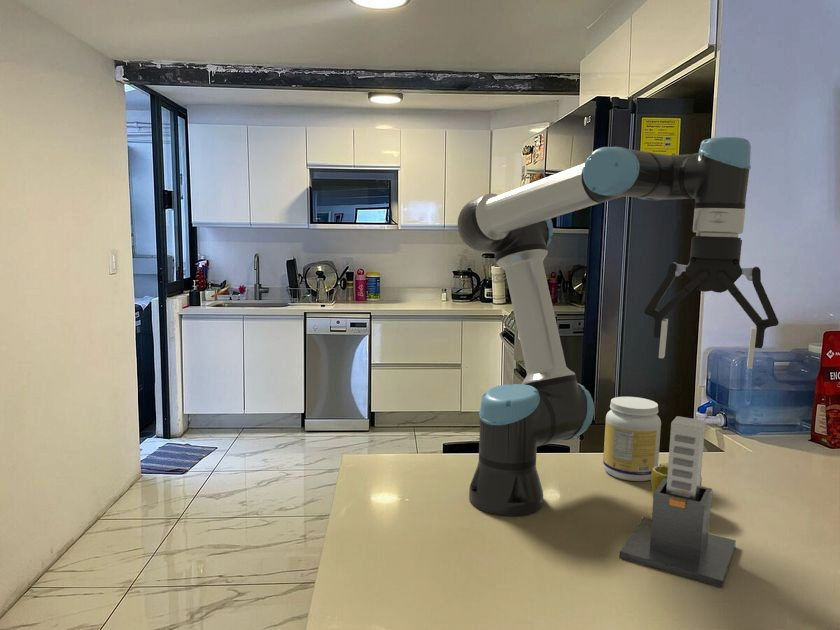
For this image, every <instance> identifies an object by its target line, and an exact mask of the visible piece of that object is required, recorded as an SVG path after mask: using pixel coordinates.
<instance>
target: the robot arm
mask: <svg viewBox="0 0 840 630" xmlns="http://www.w3.org/2000/svg"><path fill="white" fill-rule="evenodd" d="M751 149H752V146H751V142H750V141H749V140H748V139H746V138H743V137H739V136H738V137H737V136H736V137H735V136H718V137H711V138H706V139H704V140H702V141H701V142H700V147H699V150H698V152H696V153H687V154H662V153H655V152H650V151H649V152H648V151H642V150H636V149H631V148H630V149H629V148H625V147H623V146H603V147H599V148H597V149H595V150H594V151H592V152H591V154H590V155H589V156H588V157H587V158H586V160H585V161H584V162H582V163H580V164H578V165H575V166H571V167H569V168H567V169H566V168H565V169H564V170H561V171H559V172H556V173H553V174H551V175H548V176H546V177H543V178H540V179H537V180H535V181H531V182H529V183H528V184H527V183H526V184H524V185H521V186H518V187H515V188H514V189H511V190H509V191H507V192H503V193H500V194H496V193H493V192H492V193H490V192H489V193H486V194H484V195H481V196H478V197H475V198H474V199H471V200H470V201H469V202H467V203H466V204H465V205H464V206H463V207H462V208H461V210H460V212H459V214H458V217H457V231H458V234H459V237H460V238H461V240H462V242H463V243H465V244H466V246H468V247H469V248H470V249H473V250H474V251H477V252H483V253H493V254H494V258H495V263H496V266H498V267H500V268H501V269H503V270H504V273H505V276H506V282H507V286H508V290H509V295H510V301H511V306H512V310H513V315H514V318H515V324H516V327H517V328H516V330H517V333H518V337H519V338H518V339H519V343H520V347H521V353H522V357H523V362H524V367H525V370H526V376H525V377H524V379H523V380H522V382H521V383H512V384H509V383H508V384H507V383H506V384H500V385H497V386H494V387H491V388H489V389H488V390H485V392H484V394H483V395H482V397H481V399H480V408H479V413H478V414H479V439H478V440H479V443H478V463H477V466H476V468H475V471H474V474H473V477H472V479H471V482H470V484H469V489H468V500H469V502H470V503H471V504H472V505H473V506H474V507H475V508H477V509H479V510H481V511H482V512H486V513H489V514H493V515H496V516H497V515H499V516H506V517H507V516H508V517H519V516H526V515H527V516H528V515H530V514H533V513H536V512H538V511H539V510H541V508H542V507H543V505H544V491H543V487H542V483H541V480H540V476H539V473H538V470H537V448H538V447H540V446H545V445H549V444H553V443H557V442H561V441H568V440H572V439H573V438H575V437H579V436H580V435H582V434H583V433H585V432H586V431H587V430H588V429H589V427H590V425H591V424H592V421H593V420H594V419H593V418H594V413H595V406H594V405H595V404H594V401H593V400H594V399H593V397H592V395H591V393H590V391H589V390H588V389H586V387H585V386H584V385H582V384H580V383H578V380H577V377H576V373H575V372H574V371H572V370H571V369H569V368H568V367H567V364H566V359H565V355H564V349H563V347H562V342H561V336H560V333H559V328H558V323H557V319H556V315H555V311H554V306H553V302H552V297H551V294H550V293H551V292H550V290H549V289H550V288H549V284H548V280H547V275H546V270H545V266H544V260H545V259H546V257H547V255H548V254H549V253H548V252H549V251H548V247H549V245H550V244H551V242H552V237H553V234H554V233H553V232H554V226H553V225H554V224H553V221H552V219H554V218H556V217H559V216H562V215H566V214H569V213H573V212H575V211H579V210H582V209H586V208H588V207H591V206H595V205H599V204H602V203H605V202H609V201H612V200H615V199H619V198H623V197H627V198H629V197H631V198H638V199H640V200H647V201H654V202H655V201H662V200H684V199H685V200H695V202H694V211H693V223H692V232H693V233H696V234H695V235H694V236H693V237H692V238H691V243H690V244H691V245H690V254H689V261H688V263H687V265H686V264H679V263H677V262H675V261H674V262H671V263H670V264H669V265H668V269H667V273H666V274H667V275H666V276H665V277H664V279H663V281H662V283H661V284H660V286H659V287H658V289H657V290H656V291H655V293H654V295H653V296H652V298H651V300H650V301H649V303H648V304H647V306H646V308H645V309H644V314H645V315H647V316H650V317H652V318H653V319H654V329H653V336H654V338H655V339H659V349H658V359H664V358H665V356H666V345H667V338H668V337H667V334H668V324H669V319H668V318H664V317H666V316H667V315H668V314H669V313H670V312H671V311H672V310H673V309H674V308H675V307H676V306H677V305H679V303H680V302H682V301H683V300H684V299H685V298H686V297H687V296H688V295H689V294H690V293H692V291H694V290H695V289H696V290H698V291H700V292H705V293H706V292H712V293H720V294H721V293H724V292H726V291H727V292H729V294H730V295H731V296H732V297H733V298H734V300H735V301H736V302H737V303H738V305H739V306H740V307H741V308H742V310H743V311H744V313H745V314H746V315H747V316H748V317H749V319H751V321H752V322H753V323H754V325H755V326H751V327H750V334H749V336H750V337H749V345H748V354H747V362H746V363H747V364H746V368H747V369H750V370H753V366H754V359H755V357H754V356H755V349H763V346H764V339H765V331H766V329H768V328H771V327H777V326H778V325H779V323H780V322H779V318H777V314H776V313H775V311H774V307H773V306H772V304H771V301H770V299H769V297H768V294H767V292H766V290H765V288H764V286H763V283H762V280H761V279H762V278H761V267H759V266H753V267H743V268H742V266H741V254H742V244H743V239H741V237H739V235H741V234H743V233H744V227H745V226H744V224H745V215H746V201H747V192H748V184H749V176H750V175H749V174H750V170H751V168H752V166H751V151H752V150H751ZM683 272H685V273H686V275H687V277H688V278H689V280H690V281H689V282H688V284H686V285H685V287H683V288H682V290H680V291H679V292H678V293H677V294H676V295H675V296H674V297H672V298H671V299H670V300H669V301H668V302H667V303H666V304H665V305H664V306H663V307H662V308H661V309H660V310H659V309H656V308H657V307H658V305H659V303H660V302H661V300H662V298H664V296H665V294H666V292H668V289H669V288H670V286H671V284H672V283H673V282H674V280H675V278H676V277H679V276H681V275H682V273H683ZM741 276H744V277H745V278H746V279H747V281H749V282H752V285H753V288H754V290H755V292H756V294H757V297H758V299H759V301H760V304H761V306H762V309H763V311H764V313H765V315H766V318H764V319H763V318H762V317H761V316H760V314H759V312H757V311H756V309H755V308H754V307H753V306H752V304H751V303H750V302H749V301H748V299H747V298H746V297H745V296H744V294H743V293H742V292H741V290H740V289H739V288H738V286H737V285H736V284H735V283H736V281H737V280H738V279H740V277H741Z"/></svg>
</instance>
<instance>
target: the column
mask: <svg viewBox="0 0 840 630" xmlns="http://www.w3.org/2000/svg"><path fill="white" fill-rule="evenodd" d="M705 432H706V420H703V419H697V418H691V417H684V416H680V415H679V416H675V418H674V419H673V420H672V421H671V423H670V435H669V437H670V438H669V447H668V449H669V450H668V451H669V452H668V475H667V489H666V494H668V495H672V496H677V497H681V498H685V499H690V500H694V501H698V502H699V495H700V483H701V484H702V481H701V477H702V471H703V469H702V467H703V456H704V455H703V454H704V446H705V445H704V444H705V443H704V442H705Z"/></svg>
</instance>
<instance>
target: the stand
mask: <svg viewBox="0 0 840 630" xmlns="http://www.w3.org/2000/svg"><path fill="white" fill-rule="evenodd" d="M666 489H667V479H665V478H664V479H663V480H662V482H661V483H660V485H659V486H658V488H657V489H656V490H655V492H654V495H653V494H652V509H651V510H652V511H651V512H652V513H651V518H649V517H646V516H642V518H641V519H640V520H639V522H638V524H637V525H636V527H635V528H634V530H633V531H632V533H631V534H630V536H629V537H628V539H627V540H626V542H625V543H624V544H623V546H622V547H621V549H620V551H619V559H623V560H626V561H629V562H632V563H635V564H638V565H642V566H646V567H648V568H652V569H656V570H660V571H663V572H666V573H670V574H673V575H676V576H681V577H683V578H687V579H690V580H693V581H697V582H700V583H704V584H706V585H710V586H713V587H716V588H717V587H718V588H720V589H723V587H724V584H725V581H726V578H727V575H728V571H729V567H730V564H731V562H732V558H733V554H734V552H735V548H736V540H735V539H732V538H728V537H724V536H720V535H716V534H712V533H709V531H710V529H709V528H710V522H711V521H710V519H711V518H710V517H711V508H712V507H711V505H712V493H713V488H710V487H706V486H702V485H701V486H700V495H699V502H698V501H694V500H690V499H685V498H681V497H677V496H672V495H668V494H666Z"/></svg>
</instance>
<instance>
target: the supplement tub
mask: <svg viewBox="0 0 840 630" xmlns="http://www.w3.org/2000/svg"><path fill="white" fill-rule="evenodd" d="M609 408H610V410H609V411H607V413H606V415H605V427H604V445H603V461H602V465H603V469H604V471H605V472H606V473H607V474H608V475H611V476H612V477H614V478H617V479H621V480H624V481H629V482H630V481H631V482H647V481H651V473H652V469H653V468H654V467H657V466H659V460H660V459H659V458H660V456H659V455H660V444H661V443H660V441H661V430H662V428H661V427H662V420H661V418H660V416H659V415H658V413H659V404H658V403H657V402H656V401H654V400H651V399H647V398H643V397H637V396H616V397H613V398H611V400H610V405H609Z"/></svg>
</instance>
